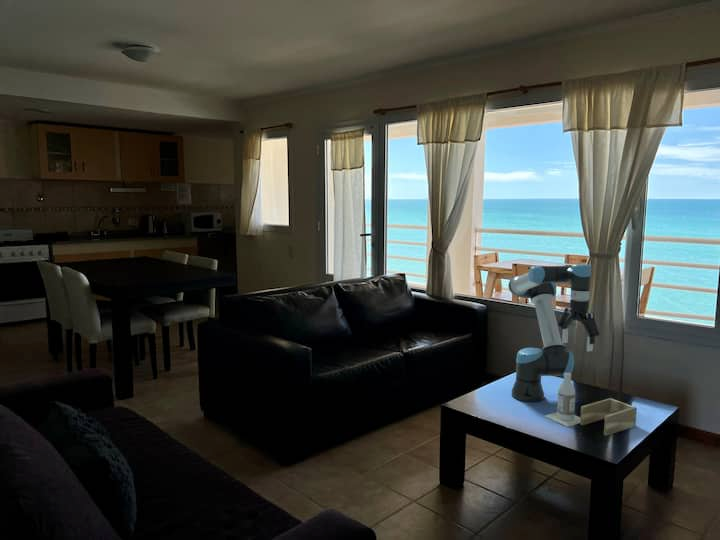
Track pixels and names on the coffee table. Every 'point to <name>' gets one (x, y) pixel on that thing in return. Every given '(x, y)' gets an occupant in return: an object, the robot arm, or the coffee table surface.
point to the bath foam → (566, 399)
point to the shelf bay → (609, 415)
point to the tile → (563, 422)
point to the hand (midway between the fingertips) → (576, 346)
